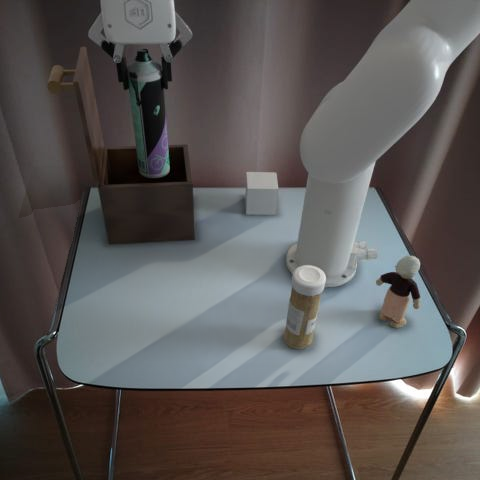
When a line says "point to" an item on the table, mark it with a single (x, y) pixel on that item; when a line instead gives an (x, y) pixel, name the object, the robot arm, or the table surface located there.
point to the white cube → (261, 193)
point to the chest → (146, 198)
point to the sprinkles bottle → (303, 305)
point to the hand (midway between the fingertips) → (146, 85)
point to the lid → (83, 107)
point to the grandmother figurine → (400, 291)
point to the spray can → (148, 115)
